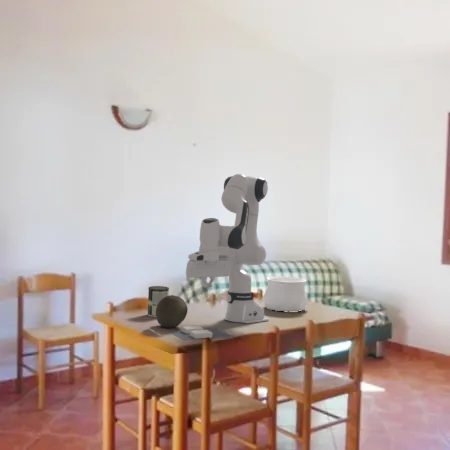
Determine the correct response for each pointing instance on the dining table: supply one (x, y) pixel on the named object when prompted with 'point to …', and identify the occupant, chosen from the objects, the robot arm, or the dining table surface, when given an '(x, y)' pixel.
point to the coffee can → (156, 298)
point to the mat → (215, 334)
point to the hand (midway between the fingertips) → (207, 287)
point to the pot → (285, 294)
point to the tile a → (190, 329)
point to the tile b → (200, 334)
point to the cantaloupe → (171, 311)
